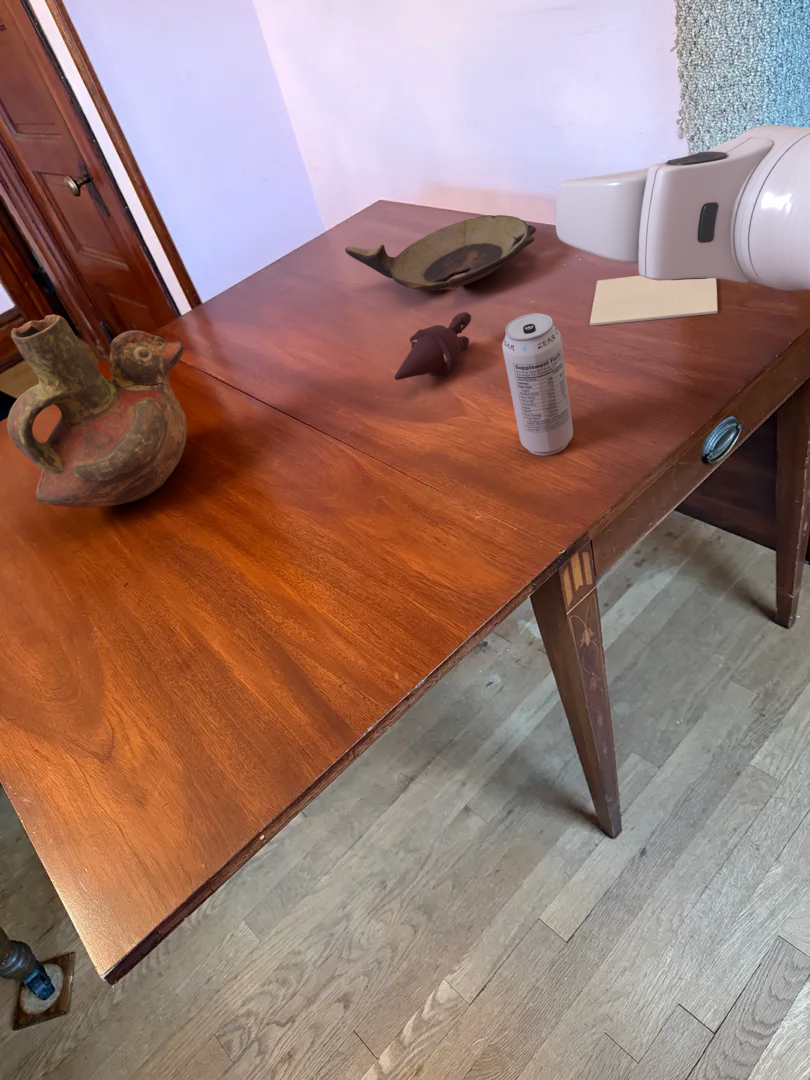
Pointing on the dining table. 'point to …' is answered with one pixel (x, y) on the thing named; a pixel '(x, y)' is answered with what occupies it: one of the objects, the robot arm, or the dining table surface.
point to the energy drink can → (538, 383)
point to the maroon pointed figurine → (435, 349)
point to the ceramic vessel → (99, 415)
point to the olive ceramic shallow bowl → (452, 252)
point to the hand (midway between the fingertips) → (627, 184)
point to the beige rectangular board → (651, 299)
